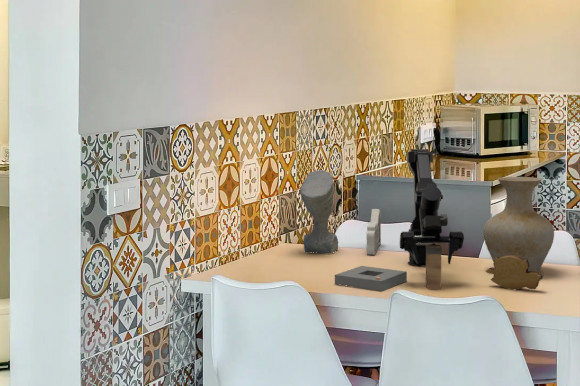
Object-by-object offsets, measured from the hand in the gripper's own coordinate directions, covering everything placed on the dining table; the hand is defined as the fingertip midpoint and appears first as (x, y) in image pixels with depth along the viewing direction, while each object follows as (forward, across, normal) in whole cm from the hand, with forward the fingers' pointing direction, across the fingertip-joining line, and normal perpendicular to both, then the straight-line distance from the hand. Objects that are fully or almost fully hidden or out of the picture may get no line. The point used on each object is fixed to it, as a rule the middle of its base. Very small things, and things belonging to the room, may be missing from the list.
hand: (433, 263), depth 247 cm
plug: (+5, 0, +6) cm, 7 cm away
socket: (0, -18, +10) cm, 21 cm away
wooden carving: (+6, +23, +5) cm, 25 cm away
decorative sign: (-38, -14, +48) cm, 63 cm away
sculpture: (-35, -34, +45) cm, 66 cm away
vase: (-11, +30, +22) cm, 39 cm away
